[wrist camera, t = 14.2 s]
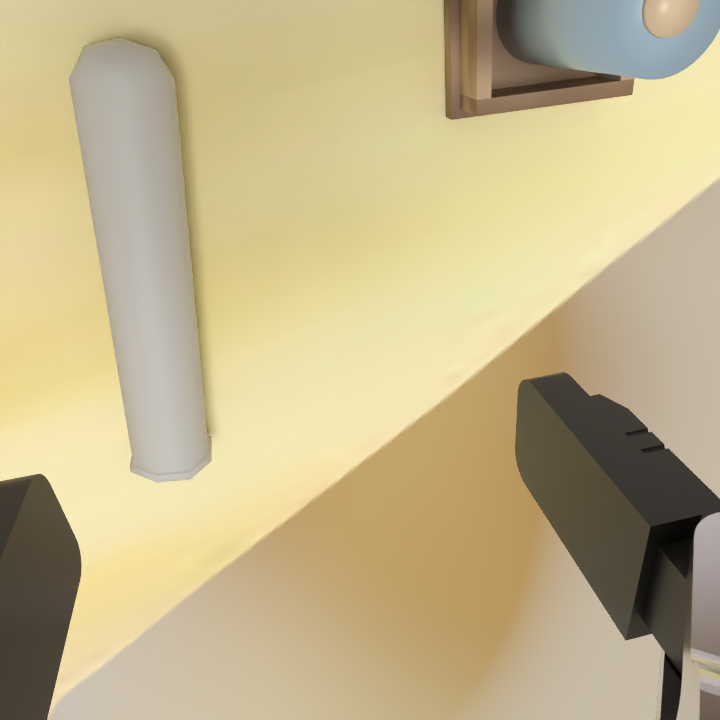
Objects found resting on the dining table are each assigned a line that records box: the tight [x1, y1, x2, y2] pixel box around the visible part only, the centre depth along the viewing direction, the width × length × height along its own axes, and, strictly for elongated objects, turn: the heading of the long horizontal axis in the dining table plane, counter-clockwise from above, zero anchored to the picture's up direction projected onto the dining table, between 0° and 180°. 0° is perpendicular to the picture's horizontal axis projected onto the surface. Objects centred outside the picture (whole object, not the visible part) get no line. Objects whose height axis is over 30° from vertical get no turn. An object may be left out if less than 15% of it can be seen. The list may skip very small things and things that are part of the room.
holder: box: [444, 0, 634, 119], centre depth 32 cm, size 10×10×4 cm
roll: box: [496, 0, 720, 79], centre depth 28 cm, size 5×5×11 cm
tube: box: [69, 37, 212, 482], centre depth 35 cm, size 5×5×25 cm
